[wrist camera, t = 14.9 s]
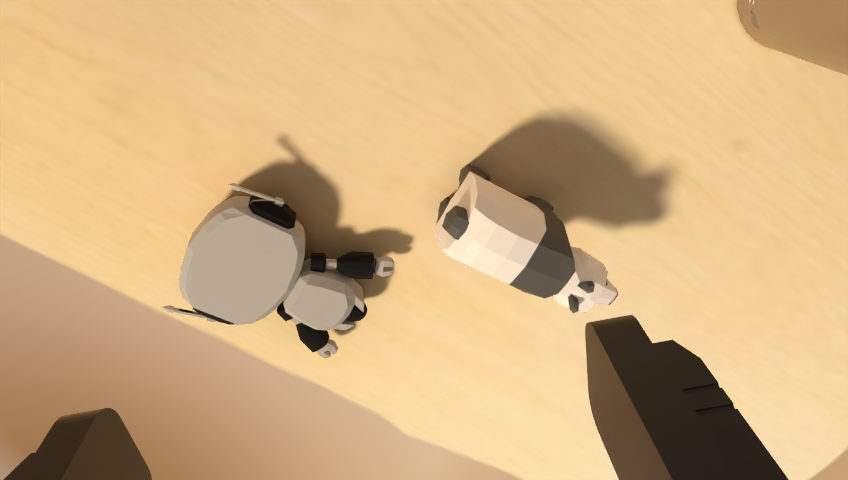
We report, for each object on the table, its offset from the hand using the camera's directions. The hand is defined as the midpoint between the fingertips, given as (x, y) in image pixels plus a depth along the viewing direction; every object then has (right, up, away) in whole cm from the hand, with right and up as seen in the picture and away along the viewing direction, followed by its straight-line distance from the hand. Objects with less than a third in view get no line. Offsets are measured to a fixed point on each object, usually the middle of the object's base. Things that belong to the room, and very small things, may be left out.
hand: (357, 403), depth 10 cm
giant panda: (+8, +5, +39) cm, 41 cm away
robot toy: (-10, +1, +40) cm, 41 cm away
